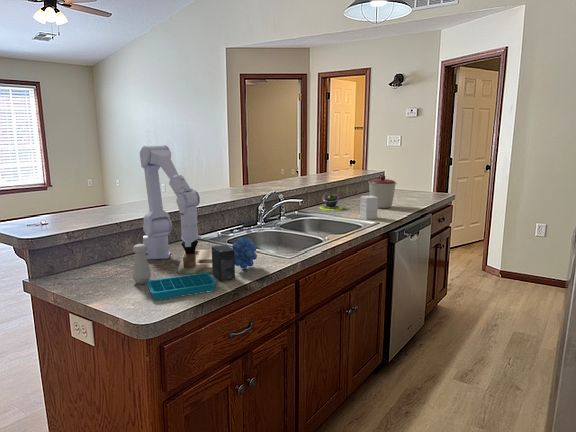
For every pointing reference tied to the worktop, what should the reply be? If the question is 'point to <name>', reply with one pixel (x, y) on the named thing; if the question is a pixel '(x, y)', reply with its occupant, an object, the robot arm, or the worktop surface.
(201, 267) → the board
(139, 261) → the salt shaker
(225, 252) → the box
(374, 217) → the supplement box
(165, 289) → the ice cube tray
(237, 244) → the grapes
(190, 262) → the walnut block
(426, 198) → the worktop surface
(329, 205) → the toy cauldron
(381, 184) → the canister
